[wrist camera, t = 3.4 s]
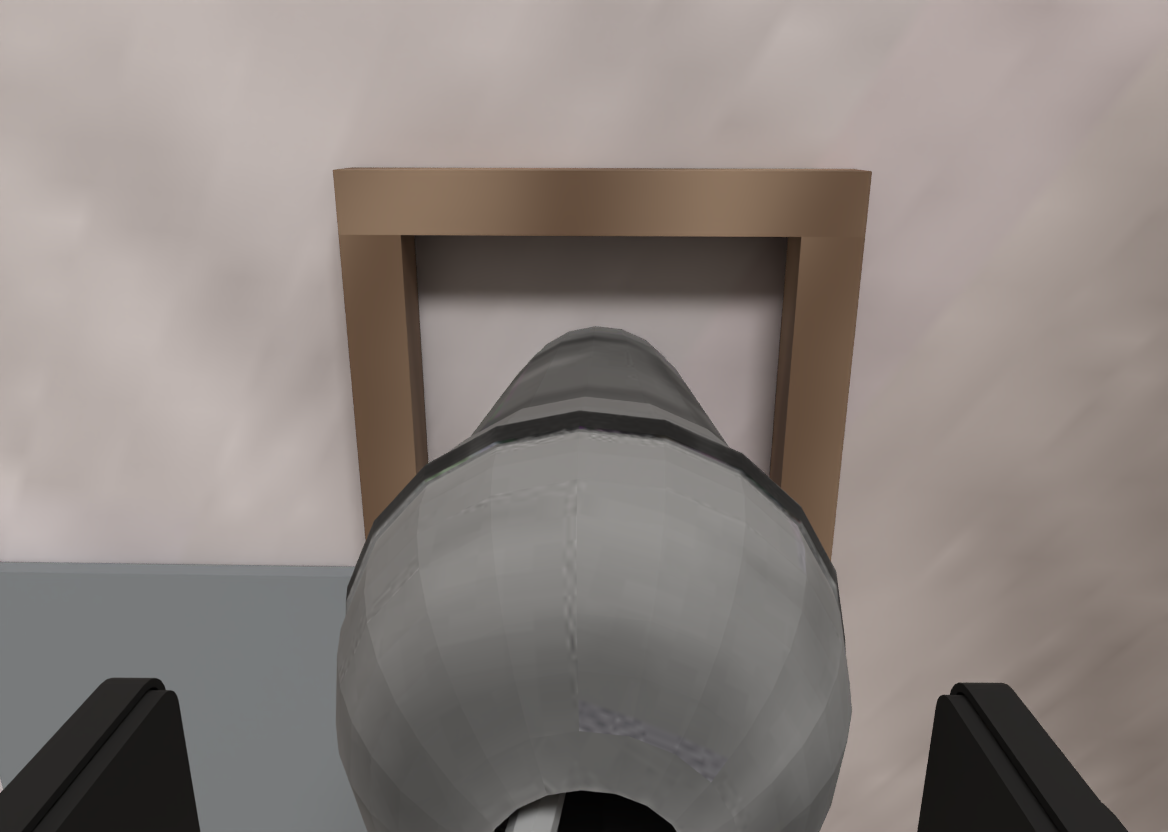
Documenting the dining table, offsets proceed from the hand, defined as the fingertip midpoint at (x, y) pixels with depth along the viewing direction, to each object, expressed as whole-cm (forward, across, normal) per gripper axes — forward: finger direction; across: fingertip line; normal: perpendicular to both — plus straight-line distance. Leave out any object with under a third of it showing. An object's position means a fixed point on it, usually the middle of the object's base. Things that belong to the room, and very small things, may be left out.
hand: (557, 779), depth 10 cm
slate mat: (+14, +12, +10) cm, 21 cm away
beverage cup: (+14, -1, -1) cm, 14 cm away
